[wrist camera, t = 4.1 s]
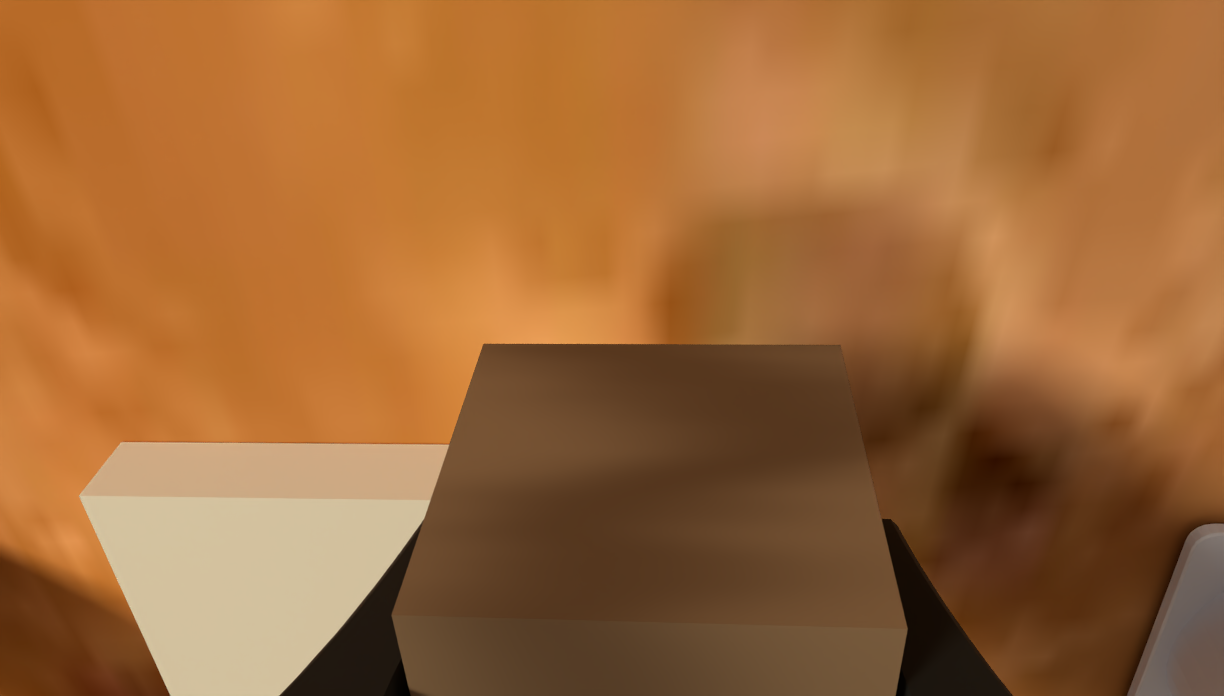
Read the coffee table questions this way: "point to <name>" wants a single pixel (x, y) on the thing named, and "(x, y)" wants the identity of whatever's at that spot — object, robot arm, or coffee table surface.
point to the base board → (253, 548)
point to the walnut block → (653, 530)
